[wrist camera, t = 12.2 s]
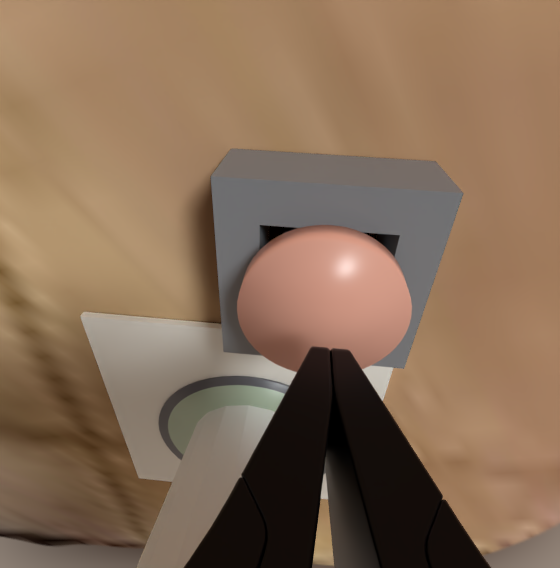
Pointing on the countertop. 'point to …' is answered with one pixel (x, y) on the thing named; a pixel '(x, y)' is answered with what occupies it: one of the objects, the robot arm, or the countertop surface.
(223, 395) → the white square board
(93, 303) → the countertop surface
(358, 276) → the button
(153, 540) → the shot glass
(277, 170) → the button housing
